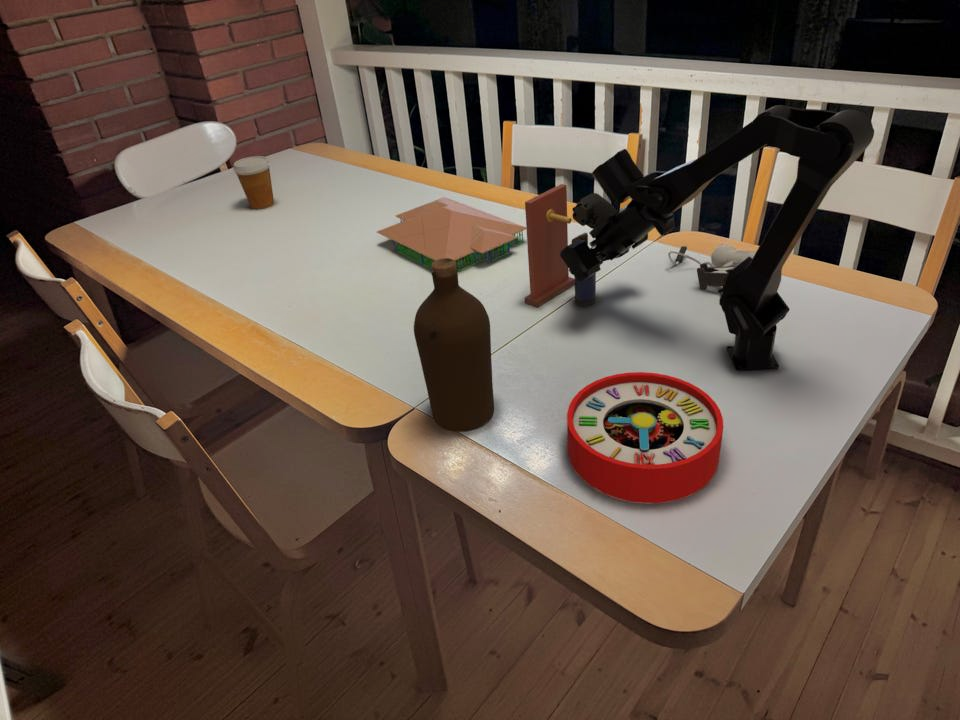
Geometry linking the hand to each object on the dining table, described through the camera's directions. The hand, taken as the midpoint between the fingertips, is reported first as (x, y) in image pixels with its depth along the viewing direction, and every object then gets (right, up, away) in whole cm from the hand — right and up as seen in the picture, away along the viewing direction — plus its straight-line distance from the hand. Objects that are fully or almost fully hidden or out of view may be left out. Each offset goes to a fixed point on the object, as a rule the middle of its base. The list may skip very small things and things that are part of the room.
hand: (578, 267), depth 126 cm
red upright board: (-3, -5, +5) cm, 8 cm away
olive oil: (-20, -25, -22) cm, 39 cm away
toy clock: (+4, -29, -32) cm, 43 cm away
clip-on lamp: (+26, -1, +7) cm, 27 cm away
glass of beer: (-77, +25, +62) cm, 102 cm away
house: (-25, +9, +30) cm, 40 cm away
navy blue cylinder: (+2, -6, +3) cm, 7 cm away
